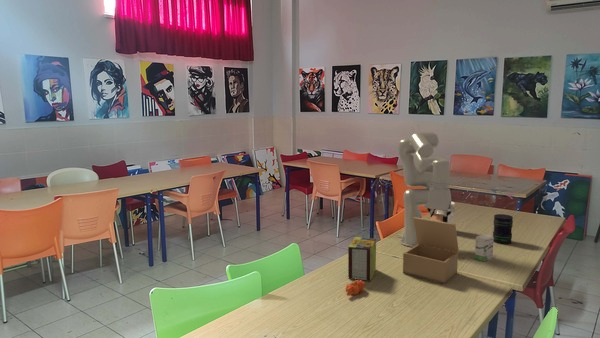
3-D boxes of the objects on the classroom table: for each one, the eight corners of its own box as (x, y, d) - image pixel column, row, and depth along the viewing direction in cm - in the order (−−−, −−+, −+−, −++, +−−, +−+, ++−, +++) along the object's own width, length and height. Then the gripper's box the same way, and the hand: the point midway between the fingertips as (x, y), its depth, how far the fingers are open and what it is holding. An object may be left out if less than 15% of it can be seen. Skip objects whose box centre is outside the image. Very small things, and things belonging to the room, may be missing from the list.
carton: (402, 273, 209) (403, 253, 207) (417, 263, 221) (417, 244, 220) (444, 284, 196) (445, 262, 195) (457, 272, 209) (458, 252, 207)
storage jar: (492, 243, 250) (494, 217, 248) (492, 238, 259) (493, 213, 257) (512, 245, 247) (513, 219, 244) (510, 240, 256) (512, 215, 253)
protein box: (375, 269, 214) (376, 238, 212) (370, 281, 200) (370, 248, 198) (354, 266, 218) (355, 236, 215) (347, 278, 203) (347, 246, 201)
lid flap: (413, 217, 213) (419, 210, 217) (417, 244, 220) (423, 236, 224) (454, 224, 200) (459, 216, 205) (458, 252, 207) (462, 243, 212)
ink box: (482, 261, 222) (484, 239, 221) (474, 258, 227) (475, 236, 225) (493, 258, 227) (494, 236, 225) (484, 255, 231) (485, 233, 229)
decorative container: (456, 229, 277) (457, 201, 274) (451, 234, 267) (452, 205, 264) (437, 227, 283) (438, 199, 280) (432, 231, 273) (433, 203, 270)
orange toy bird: (350, 286, 182) (366, 277, 191) (337, 287, 187) (353, 278, 196) (354, 298, 182) (369, 288, 190) (340, 298, 187) (356, 289, 195)
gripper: (419, 185, 212) (418, 221, 214) (455, 189, 201) (453, 227, 204) (426, 182, 217) (425, 218, 220) (461, 186, 207) (459, 224, 209)
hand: (438, 222), depth 212 cm, fingers closed on lid flap, 5 cm apart
